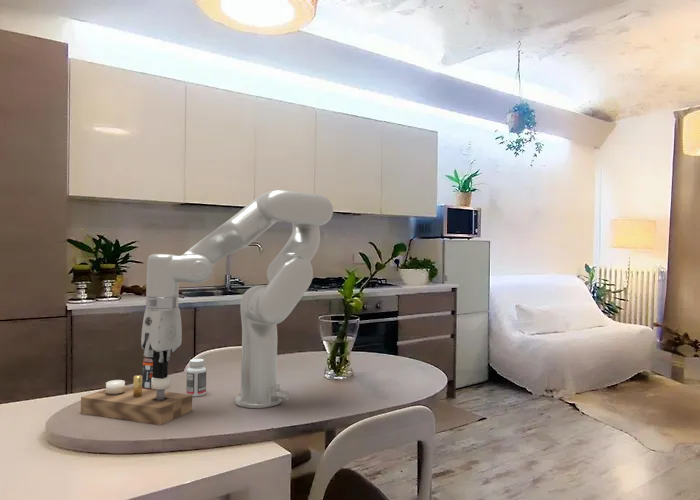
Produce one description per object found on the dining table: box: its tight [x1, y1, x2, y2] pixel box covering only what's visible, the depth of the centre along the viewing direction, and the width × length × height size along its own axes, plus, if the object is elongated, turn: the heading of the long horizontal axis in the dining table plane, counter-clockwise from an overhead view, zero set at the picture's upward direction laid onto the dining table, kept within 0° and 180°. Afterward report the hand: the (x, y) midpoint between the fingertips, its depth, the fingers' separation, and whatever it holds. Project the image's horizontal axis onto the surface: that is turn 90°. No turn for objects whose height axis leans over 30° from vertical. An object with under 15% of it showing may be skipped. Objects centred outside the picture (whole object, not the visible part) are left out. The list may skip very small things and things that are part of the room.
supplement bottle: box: [142, 357, 156, 390], centre depth 150 cm, size 6×6×11 cm
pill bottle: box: [186, 358, 207, 398], centre depth 145 cm, size 5×5×10 cm
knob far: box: [105, 379, 126, 395], centre depth 130 cm, size 4×4×6 cm
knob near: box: [151, 375, 171, 401], centre depth 126 cm, size 4×4×6 cm
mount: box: [80, 386, 193, 426], centre depth 128 cm, size 24×12×4 cm, turn 72°
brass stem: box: [133, 374, 142, 397], centre depth 128 cm, size 2×2×5 cm
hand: (159, 377), depth 126 cm, fingers closed
